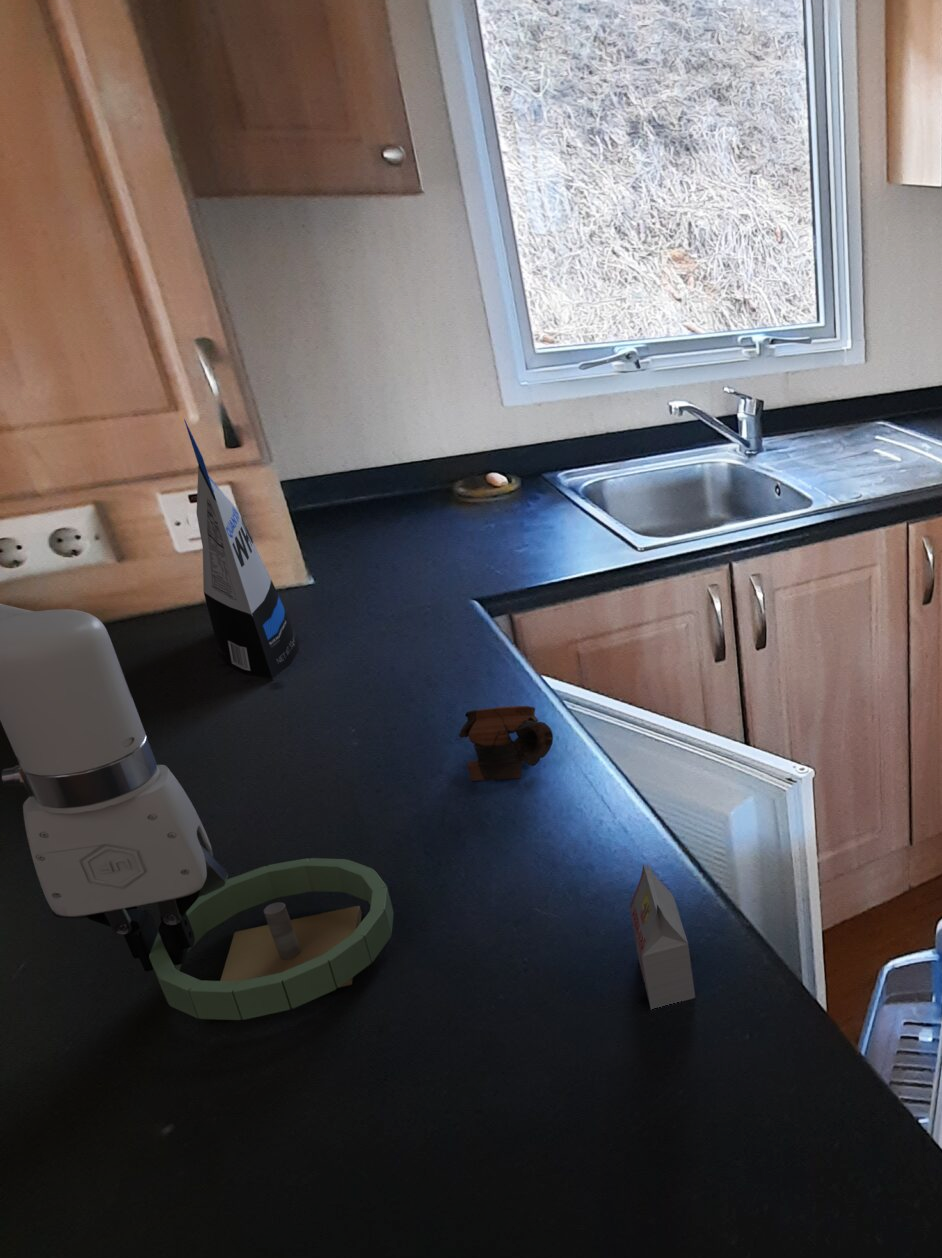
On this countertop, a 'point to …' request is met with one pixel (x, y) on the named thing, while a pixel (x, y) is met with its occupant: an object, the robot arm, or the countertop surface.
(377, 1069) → the countertop surface
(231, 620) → the protein powder
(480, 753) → the pottery mug
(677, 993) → the gable top carton
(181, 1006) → the hoop
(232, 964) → the stand
